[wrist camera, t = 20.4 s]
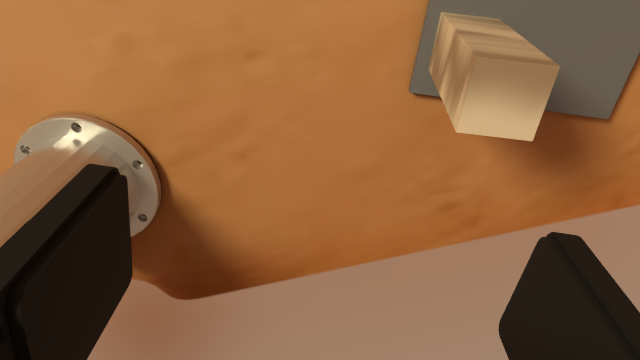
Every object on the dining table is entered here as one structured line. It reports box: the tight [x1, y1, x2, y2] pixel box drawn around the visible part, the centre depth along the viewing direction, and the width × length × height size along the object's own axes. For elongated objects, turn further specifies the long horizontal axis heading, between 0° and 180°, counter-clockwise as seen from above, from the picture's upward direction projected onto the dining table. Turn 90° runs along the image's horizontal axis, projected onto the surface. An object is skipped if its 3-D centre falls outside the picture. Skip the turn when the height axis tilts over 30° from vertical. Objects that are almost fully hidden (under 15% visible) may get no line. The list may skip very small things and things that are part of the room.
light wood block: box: [428, 12, 560, 141], centre depth 28 cm, size 4×4×11 cm
